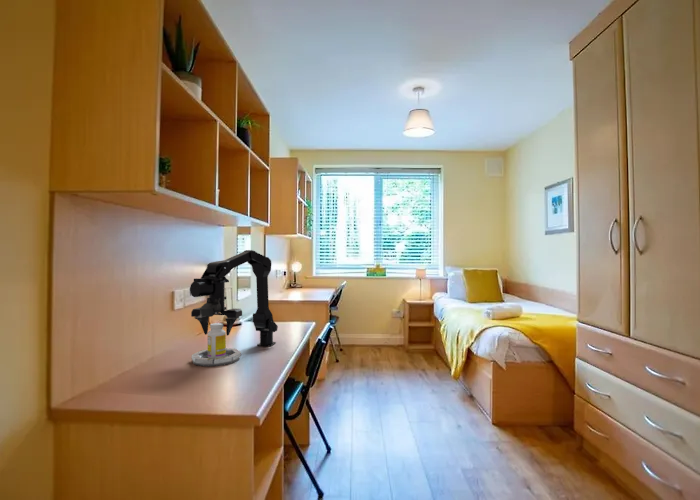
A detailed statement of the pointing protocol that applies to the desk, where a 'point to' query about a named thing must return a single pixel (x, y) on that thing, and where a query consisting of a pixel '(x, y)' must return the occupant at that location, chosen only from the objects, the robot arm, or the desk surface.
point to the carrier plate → (203, 360)
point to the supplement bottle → (216, 341)
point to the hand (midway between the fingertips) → (216, 334)
